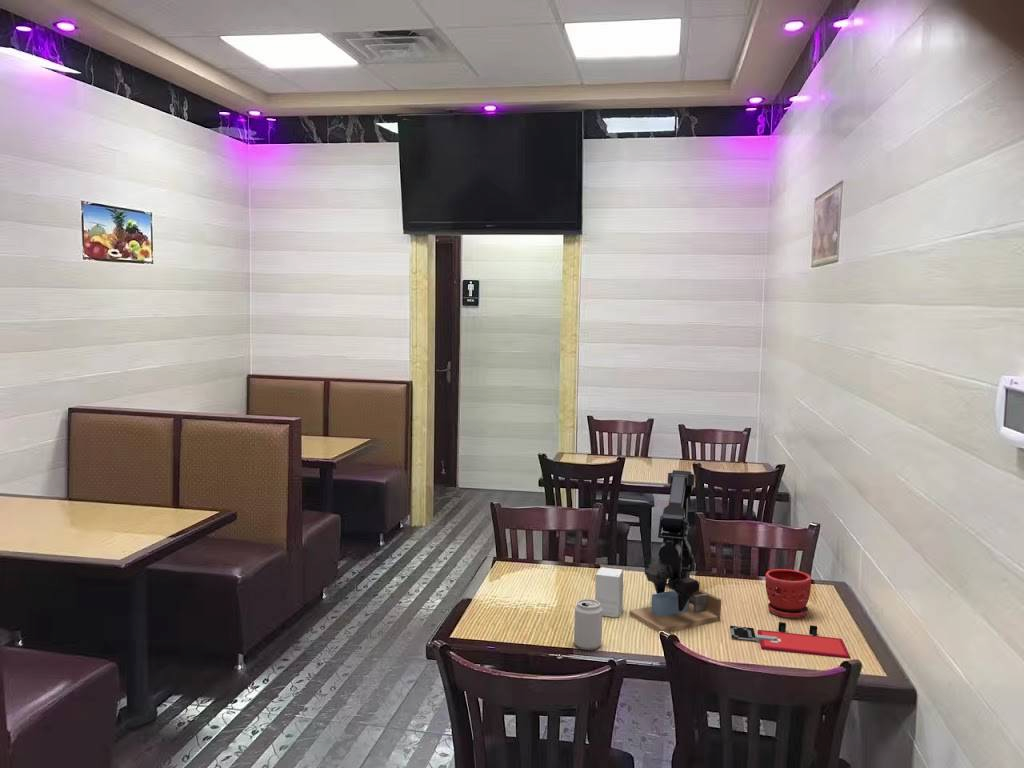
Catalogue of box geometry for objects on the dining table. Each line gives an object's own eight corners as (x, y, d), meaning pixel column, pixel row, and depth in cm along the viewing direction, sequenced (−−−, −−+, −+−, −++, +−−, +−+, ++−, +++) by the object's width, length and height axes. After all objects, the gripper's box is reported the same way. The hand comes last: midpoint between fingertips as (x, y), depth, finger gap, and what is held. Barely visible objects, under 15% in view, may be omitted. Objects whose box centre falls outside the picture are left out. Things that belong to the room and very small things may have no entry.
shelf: (686, 603, 243) (687, 583, 242) (720, 620, 229) (721, 599, 229) (629, 615, 232) (630, 594, 232) (661, 634, 219) (662, 611, 219)
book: (679, 606, 236) (680, 589, 236) (688, 611, 233) (689, 593, 232) (651, 612, 231) (651, 594, 231) (659, 617, 228) (660, 599, 227)
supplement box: (623, 609, 237) (624, 569, 236) (618, 618, 230) (619, 576, 229) (599, 606, 239) (600, 566, 238) (594, 614, 233) (595, 573, 231)
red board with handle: (729, 626, 226) (732, 648, 212) (729, 616, 226) (733, 638, 211) (838, 637, 220) (850, 661, 205) (839, 628, 219) (850, 651, 205)
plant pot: (810, 609, 240) (812, 571, 239) (807, 624, 228) (809, 584, 227) (766, 601, 245) (768, 565, 244) (761, 616, 234) (763, 577, 233)
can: (571, 639, 214) (572, 597, 213) (598, 639, 215) (599, 597, 214) (576, 651, 207) (577, 607, 206) (604, 650, 208) (605, 607, 206)
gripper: (631, 549, 235) (629, 599, 236) (671, 567, 218) (669, 621, 220) (660, 544, 240) (658, 594, 241) (701, 562, 224) (699, 614, 225)
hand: (670, 605), depth 232 cm, fingers open, 9 cm apart
